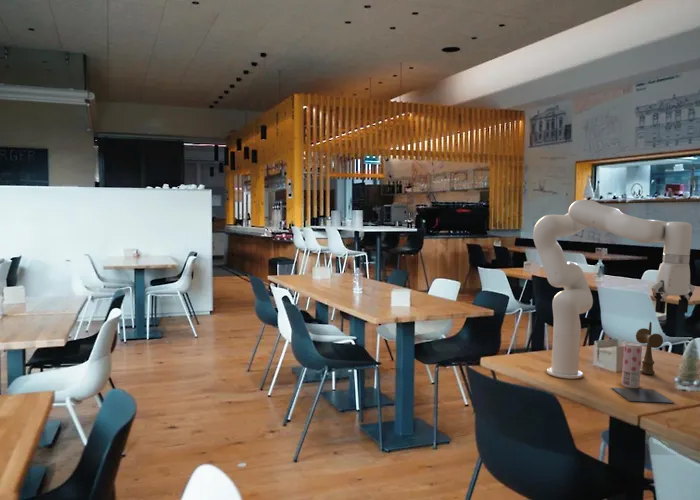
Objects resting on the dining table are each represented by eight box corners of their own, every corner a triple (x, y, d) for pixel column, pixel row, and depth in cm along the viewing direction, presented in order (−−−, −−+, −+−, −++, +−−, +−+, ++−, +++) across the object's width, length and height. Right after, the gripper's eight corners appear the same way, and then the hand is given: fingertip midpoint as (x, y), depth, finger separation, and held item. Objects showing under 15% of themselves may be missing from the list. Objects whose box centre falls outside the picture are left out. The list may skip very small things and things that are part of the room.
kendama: (648, 370, 230) (651, 319, 229) (662, 377, 220) (665, 324, 219) (632, 370, 230) (636, 319, 229) (646, 377, 220) (649, 323, 219)
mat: (611, 388, 204) (611, 387, 204) (653, 390, 204) (653, 389, 203) (629, 401, 190) (629, 400, 190) (673, 403, 190) (673, 402, 190)
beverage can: (637, 384, 210) (640, 343, 209) (640, 389, 204) (643, 346, 203) (620, 382, 211) (623, 341, 210) (622, 387, 206) (625, 344, 205)
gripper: (685, 259, 198) (681, 309, 199) (645, 258, 192) (641, 310, 193) (706, 261, 191) (701, 314, 192) (665, 261, 185) (660, 315, 186)
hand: (671, 312), depth 193 cm, fingers open, 9 cm apart
